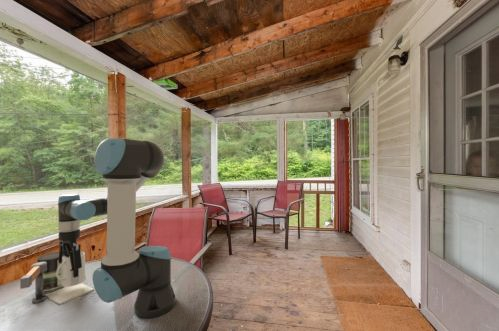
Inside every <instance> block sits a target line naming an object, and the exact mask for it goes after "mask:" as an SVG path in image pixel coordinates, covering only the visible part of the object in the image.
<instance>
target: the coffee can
mask: <svg viewBox="0 0 499 331" xmlns="http://www.w3.org/2000/svg"><path fill="white" fill-rule="evenodd" d="M36 260H37V263H39V262H47V270H46V271H45V272H43V292H48V291H53V290H54V291H55V290H58V289H59V288H61V287H63V286H62V281H61V280H59V279H57V277H56V271H57V269H58V267H59V265H60V263H59V262H58V261H59V251H53V252H50V253H49V252H48V253H44V254H42V255H40V256H38V257H37V258H36ZM58 276H59V278H61V267H60V269H59V271H58Z"/></svg>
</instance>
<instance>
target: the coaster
mask: <svg viewBox="0 0 499 331" xmlns="http://www.w3.org/2000/svg"><path fill="white" fill-rule="evenodd" d="M93 291H95V288H93V287H91V286H89V285H86V284H84V283H83V282H82V283H80V284H78V285H75V286H69V287H65V286H64V287H62V288H60V289H56V290H54V291H52V292H48V293H46V294H45V296H46V299H48V300H51V301H52V302H54V303H55V304H57V305H58V306H60V305H62V304H63V305H64V304H65V303H68V302H70V301H72V300H74V299H77V298H79V297H81V296H83V295H86V294H89V293H91V292H93Z"/></svg>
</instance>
